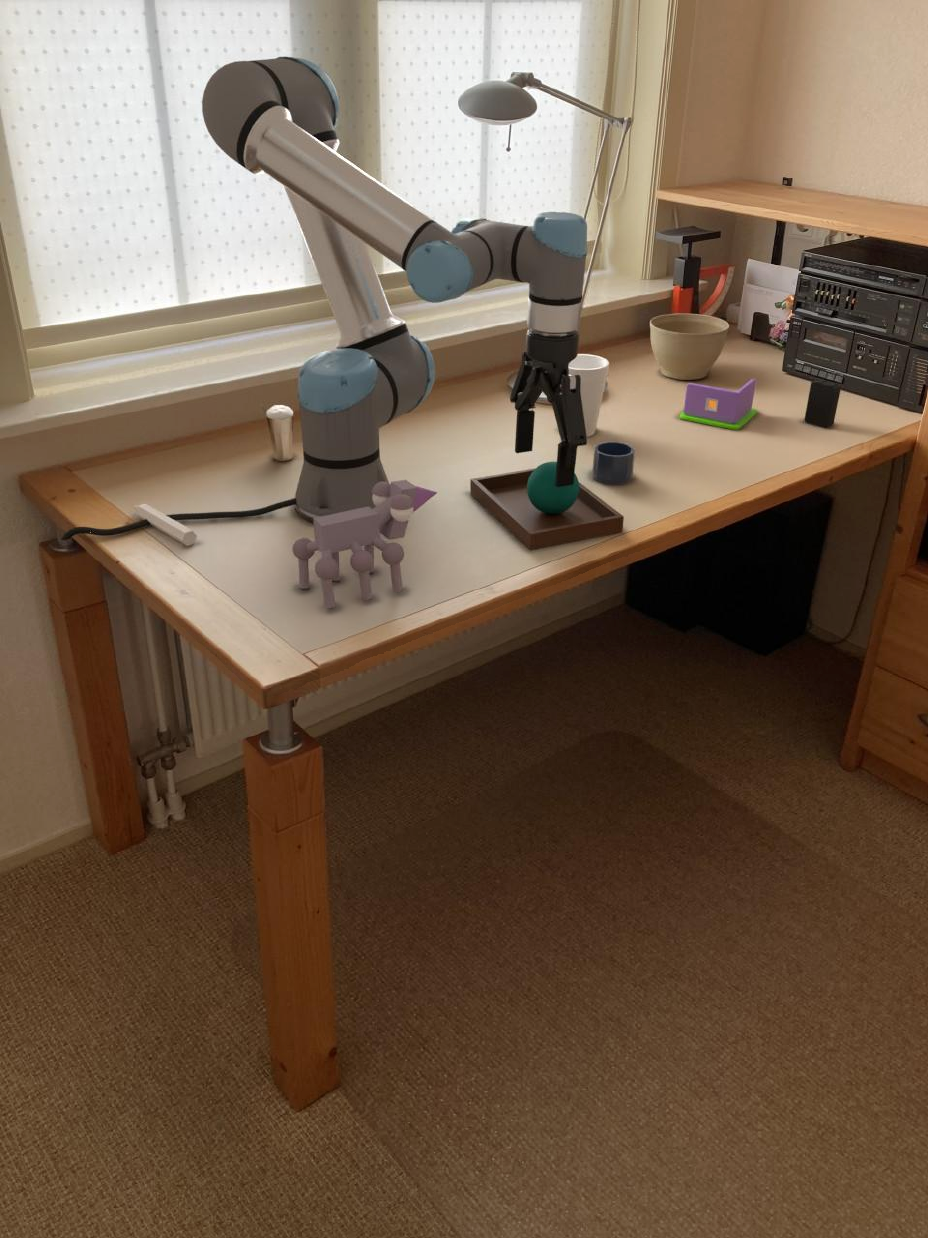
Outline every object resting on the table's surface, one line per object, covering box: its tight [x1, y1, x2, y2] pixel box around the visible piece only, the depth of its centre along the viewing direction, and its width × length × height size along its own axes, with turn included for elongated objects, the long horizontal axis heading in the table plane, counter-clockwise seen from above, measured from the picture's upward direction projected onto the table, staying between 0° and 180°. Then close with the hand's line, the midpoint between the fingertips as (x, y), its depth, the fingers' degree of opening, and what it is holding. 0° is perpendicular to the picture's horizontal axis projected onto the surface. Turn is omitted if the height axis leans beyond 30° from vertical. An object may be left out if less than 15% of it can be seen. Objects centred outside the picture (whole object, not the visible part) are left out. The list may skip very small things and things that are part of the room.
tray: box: [469, 467, 625, 551], centre depth 165 cm, size 16×22×3 cm
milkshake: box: [260, 404, 294, 462], centre depth 181 cm, size 5×5×10 cm
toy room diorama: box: [679, 378, 758, 431], centre depth 202 cm, size 12×12×7 cm
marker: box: [132, 502, 198, 547], centre depth 159 cm, size 3×2×16 cm
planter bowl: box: [649, 313, 730, 381], centre depth 222 cm, size 16×16×11 cm
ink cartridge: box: [803, 379, 842, 429], centre depth 198 cm, size 5×2×8 cm, turn 44°
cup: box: [592, 441, 636, 486], centre depth 176 cm, size 7×7×5 cm
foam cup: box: [568, 353, 610, 437], centre depth 192 cm, size 10×9×13 cm
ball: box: [527, 461, 580, 514], centre depth 162 cm, size 8×8×8 cm
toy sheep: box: [291, 479, 438, 609], centre depth 142 cm, size 20×11×14 cm, turn 119°
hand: (543, 467), depth 162 cm, fingers open, 13 cm apart
